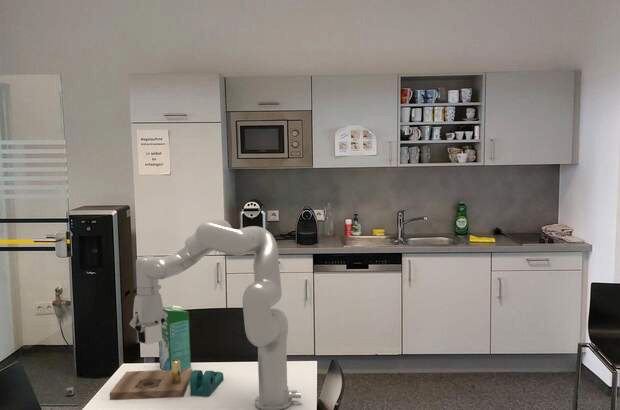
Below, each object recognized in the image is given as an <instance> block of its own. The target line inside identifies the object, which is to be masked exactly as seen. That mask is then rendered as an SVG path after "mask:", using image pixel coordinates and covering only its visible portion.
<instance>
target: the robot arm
mask: <svg viewBox="0 0 620 410" xmlns="http://www.w3.org/2000/svg"><path fill="white" fill-rule="evenodd" d="M213 251H214V252H215V251H216V252H219V253H222V254H227V255H230V256H235V257H239V256H240V257H241V256H245V255H248V254H251V253H254V254H253V255H254V256H253V258H254V259H253V266H252V267H253V279H254V280H253V282H252V283H250V284H249V285H248V286H247V287H246V288H245V290H244V292H243V295H242V311H243V321H244V322H243V323H244V331H245V336H246V338H247V340H248V341H249V343H250V344H251V345H253V346H255V347H257V370H258V372H257V374H258V396H256V398H254V406H255V407H256V408H257V409H259V410H284V409H286V408H289V407H291V405H292V404H293V399H301V398H302V392H300V391H299V392H298V390H296V389H294V390H291V389H289V386H288V367H287V365H288V360H287V359H288V358H287V357H288V356H287V349H288V348H287V344H288V343H287V342H288V341H287V340H288V331H289V322H288V321H289V320H288V317H287V315H286V314H285V313H284V312H283V311H282V310H281V309H278V308H272V307H273V306H274V305H276V304H278V303H279V302H280V300H281V299H282V294H283V291H282V283H281V272H280V262H279V249H278V243H277V241H276V239H275V237H274V236H273V234H272V233H271V232H270V231H268V230H267V229H265V227H261V226H257V225H254V226H253V225H252V226H245V227H242V228H233V227H232V225H231V224H230V223H229V221H227V220H225V219H221V218H219V219H218V218H217V219H212V220H206V221H203V222H202V223H200V224H199V225H198V226H197V228H196V229H195V232H194V233H193V234H191V235H190V236H188V237H187V238H186V239H185V241H184V247H182V248H180V249H179V250H178V251H176V252H174V253H172V254H169V255H165V256H162V257H158V258H157V257H156V256H153V255H146V256H139V257H138V258H136V259H135V260H136V261H135V271H136V273H135V275H136V294H137V295H135V297H134V300H133V301H134V302H133V307H132V309H133V311H132V316H133V317H132V319H131V320H130V322H129V326H131V327H132V328H133V329H134V330H136V332H137V341H138V340H139V342H138V343H140V342H141V344H144V343H145V332H143V331H144V327H145V324H147V323H150V322H155V323H159V324H161V327H162V324H163V323H164V321H165V319H166V318H167V316H168V314H167V313H166V312H165V311H163V307H164V304H163V298H162V295H161V293H160V289H162V286H161V284H159V280H165V279H169V278H171V277H173V276H177V275H180V274H182V273H183V272H185V271H187V270H188V269H190V268H191V267H193V266H195V265H196V264H197V263H199V261H201V259H203V258H204V257H205V256H207V255H209V254H211V252H213Z"/></svg>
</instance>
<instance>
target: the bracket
mask: <svg viewBox="0 0 620 410" xmlns="http://www.w3.org/2000/svg"><path fill="white" fill-rule="evenodd" d="M222 382H224V373H223V372H221V371H215V370H205V371H204V373H203V370H200V369H194V370H193V372H192V374H191V378H190V383H189V391H190V392H189V394H190V395H189V396H191V397H193V396H194V397H204V398H205V397H207V398H209V397H210V396H211V395H212V394H213V393H214V391H216V389H217V388H218V387H219V385H221V384H222Z"/></svg>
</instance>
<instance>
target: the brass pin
mask: <svg viewBox="0 0 620 410" xmlns="http://www.w3.org/2000/svg"><path fill="white" fill-rule="evenodd" d="M172 383H173V384H179V383H181V370H180V360H179V359H175V360H172Z"/></svg>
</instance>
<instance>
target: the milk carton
mask: <svg viewBox="0 0 620 410" xmlns="http://www.w3.org/2000/svg"><path fill="white" fill-rule="evenodd" d="M163 311H165V312H166V313H167V314H168V316H167V318H166V319H165V321H164V323H163V324H162V327H161V328H162V341H159V342H158V358H159V359H158V360H159V363H158V364H159V369H161V370H172V360H175V359H179V360H180V370H184V369H191V368H192V367H191V364H192V363H191V361H192V360H191V359H192V358H191V342H190V341H191V340H190V339H191V337H190V336H191V335H190V311H187V310H184V309H183V307H182V306H178V305H172V307H165V306H163Z"/></svg>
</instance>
